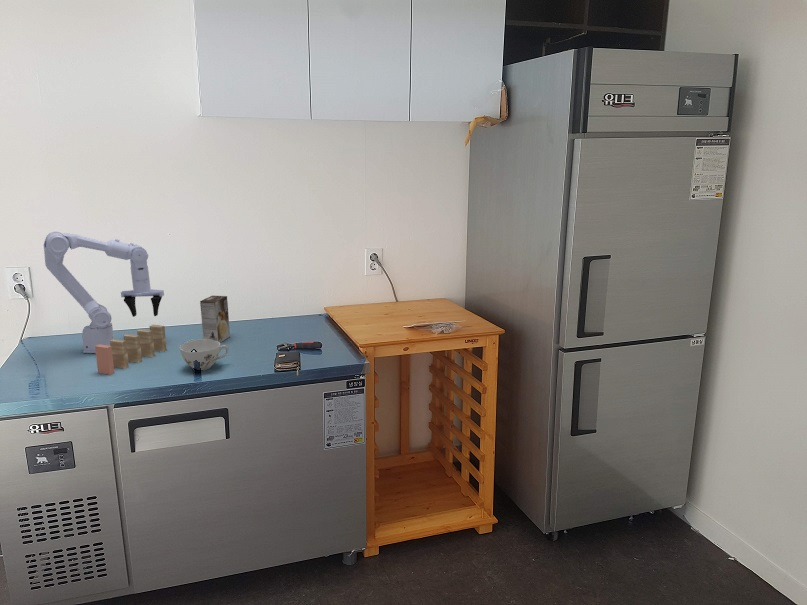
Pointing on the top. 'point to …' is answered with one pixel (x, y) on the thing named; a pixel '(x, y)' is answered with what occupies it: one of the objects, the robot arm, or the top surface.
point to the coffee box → (215, 318)
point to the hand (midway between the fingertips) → (145, 315)
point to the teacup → (202, 352)
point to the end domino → (104, 359)
